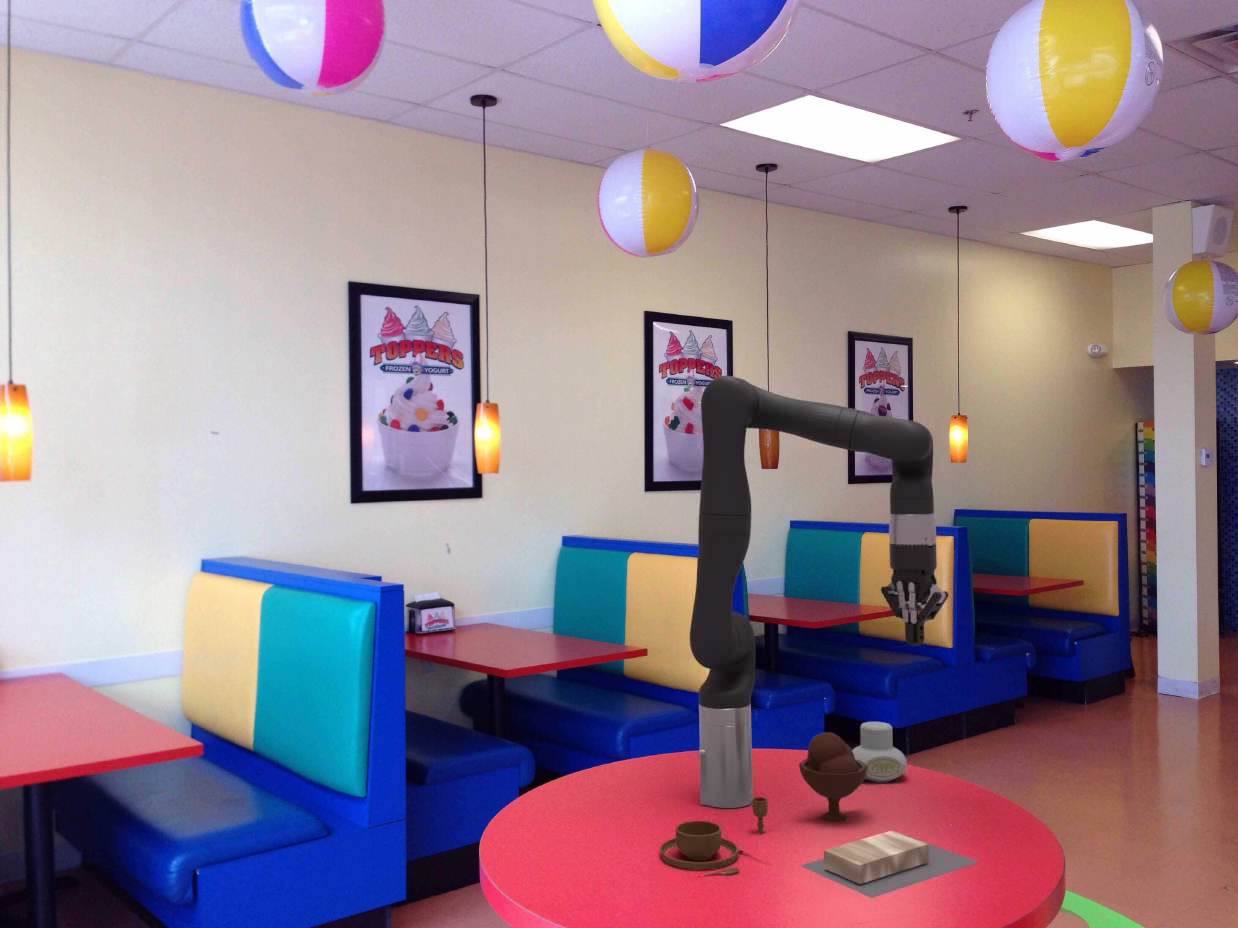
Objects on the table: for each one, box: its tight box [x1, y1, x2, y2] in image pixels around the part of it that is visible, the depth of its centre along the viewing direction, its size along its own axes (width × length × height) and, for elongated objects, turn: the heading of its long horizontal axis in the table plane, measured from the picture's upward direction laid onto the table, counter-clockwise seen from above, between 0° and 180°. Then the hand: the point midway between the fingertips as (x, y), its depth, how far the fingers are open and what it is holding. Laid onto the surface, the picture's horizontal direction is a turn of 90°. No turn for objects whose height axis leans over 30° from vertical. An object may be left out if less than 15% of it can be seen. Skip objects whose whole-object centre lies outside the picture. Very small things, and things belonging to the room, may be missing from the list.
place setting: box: [659, 796, 769, 877], centre depth 157 cm, size 18×20×6 cm
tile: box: [823, 830, 930, 885], centre depth 148 cm, size 3×7×14 cm
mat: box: [799, 834, 979, 898], centre depth 149 cm, size 22×14×1 cm, turn 122°
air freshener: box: [852, 721, 908, 783], centre depth 194 cm, size 11×8×10 cm
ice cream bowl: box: [798, 731, 868, 823], centre depth 170 cm, size 11×11×15 cm
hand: (915, 645), depth 170 cm, fingers closed
